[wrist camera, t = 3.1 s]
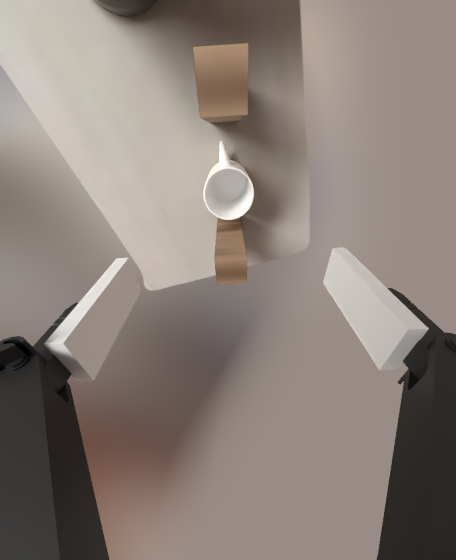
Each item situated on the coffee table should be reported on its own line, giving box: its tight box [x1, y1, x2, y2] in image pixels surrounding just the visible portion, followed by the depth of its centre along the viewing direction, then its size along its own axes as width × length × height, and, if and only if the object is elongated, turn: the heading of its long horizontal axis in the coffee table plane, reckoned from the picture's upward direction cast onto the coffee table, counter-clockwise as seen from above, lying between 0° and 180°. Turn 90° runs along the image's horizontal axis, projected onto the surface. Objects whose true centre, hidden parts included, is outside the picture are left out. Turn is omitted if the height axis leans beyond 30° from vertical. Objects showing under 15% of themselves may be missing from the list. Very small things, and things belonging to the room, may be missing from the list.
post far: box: [214, 217, 247, 284], centre depth 41 cm, size 5×5×20 cm
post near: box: [193, 43, 248, 123], centre depth 28 cm, size 5×5×20 cm
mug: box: [204, 140, 254, 220], centre depth 38 cm, size 9×12×11 cm
